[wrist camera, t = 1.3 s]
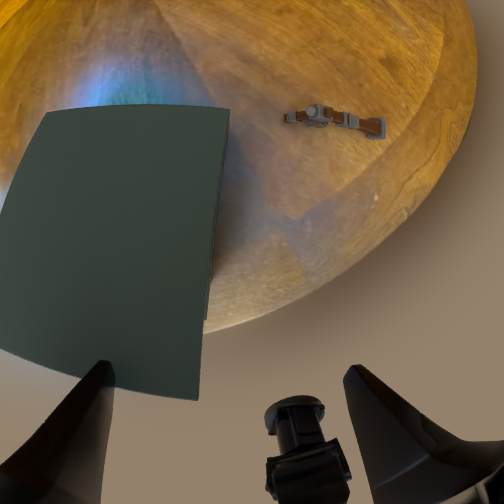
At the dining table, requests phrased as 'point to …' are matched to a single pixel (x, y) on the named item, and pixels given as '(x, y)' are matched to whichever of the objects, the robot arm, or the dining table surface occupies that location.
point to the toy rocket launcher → (338, 120)
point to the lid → (113, 243)
